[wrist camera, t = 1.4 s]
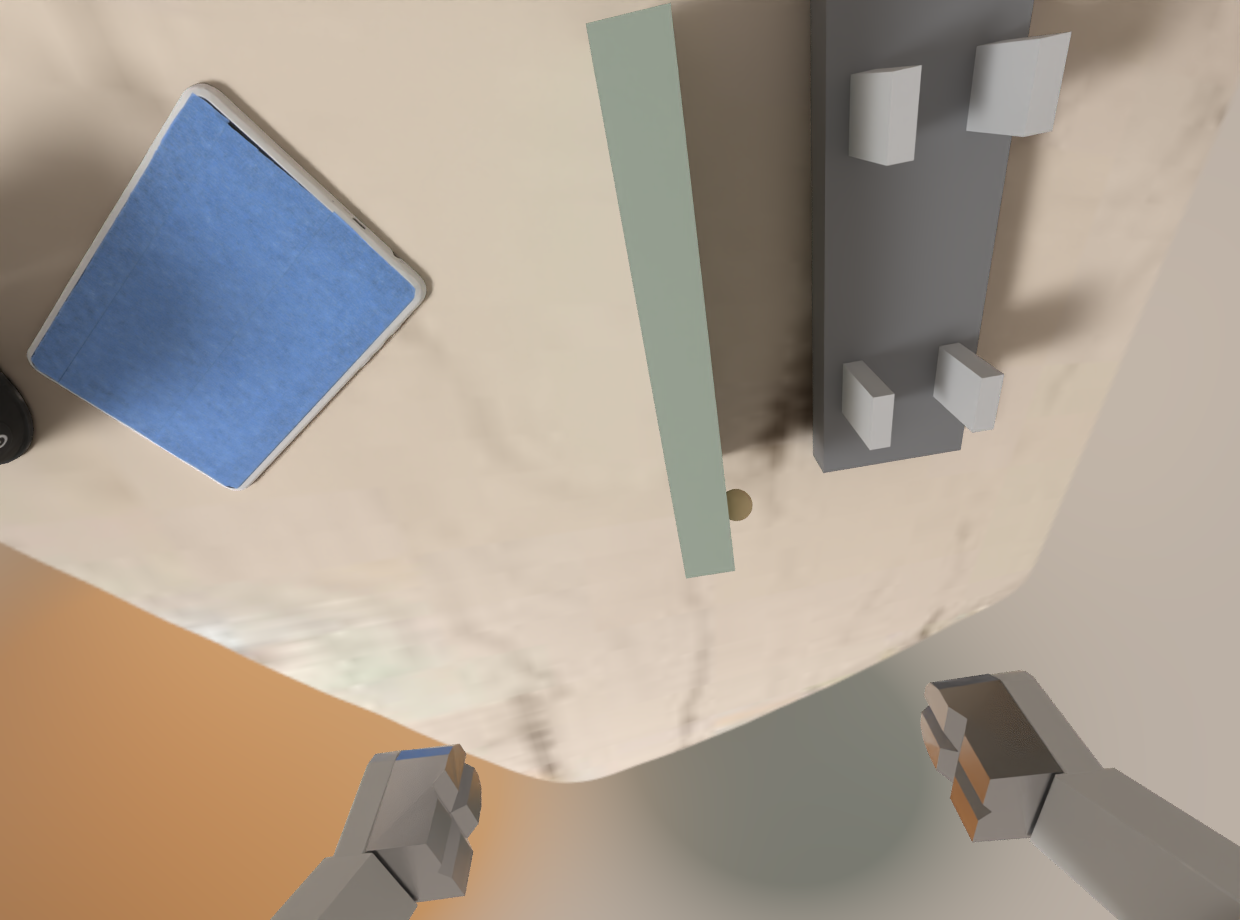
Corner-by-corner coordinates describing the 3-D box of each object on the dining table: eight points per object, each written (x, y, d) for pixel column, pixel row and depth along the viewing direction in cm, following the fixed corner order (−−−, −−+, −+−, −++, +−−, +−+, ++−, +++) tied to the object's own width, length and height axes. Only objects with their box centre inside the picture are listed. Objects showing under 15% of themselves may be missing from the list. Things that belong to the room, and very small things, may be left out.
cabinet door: (592, 46, 24) (585, 23, 16) (682, 25, 24) (724, -10, 16) (667, 465, 36) (686, 578, 28) (727, 454, 36) (766, 565, 27)
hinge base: (810, -37, 23) (868, -73, 18) (1016, -87, 22) (1138, -140, 17) (813, 455, 36) (847, 514, 31) (943, 432, 35) (1000, 489, 30)
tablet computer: (206, 71, 25) (188, 70, 24) (437, 286, 30) (431, 294, 29) (36, 353, 31) (15, 362, 30) (249, 487, 37) (238, 500, 36)
